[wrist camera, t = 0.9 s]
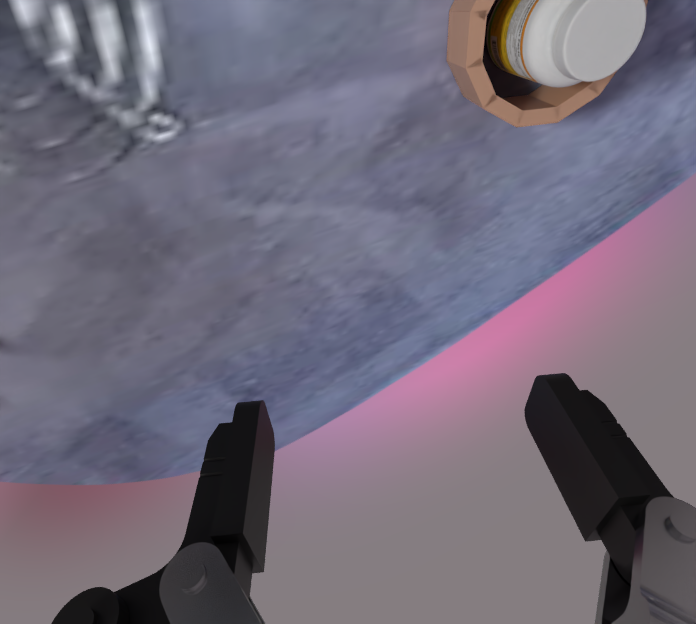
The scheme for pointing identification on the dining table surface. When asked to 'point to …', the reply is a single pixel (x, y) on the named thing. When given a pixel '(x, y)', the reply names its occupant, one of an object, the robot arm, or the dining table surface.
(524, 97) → the holder ring
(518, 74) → the supplement bottle
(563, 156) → the dining table surface
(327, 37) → the dining table surface
